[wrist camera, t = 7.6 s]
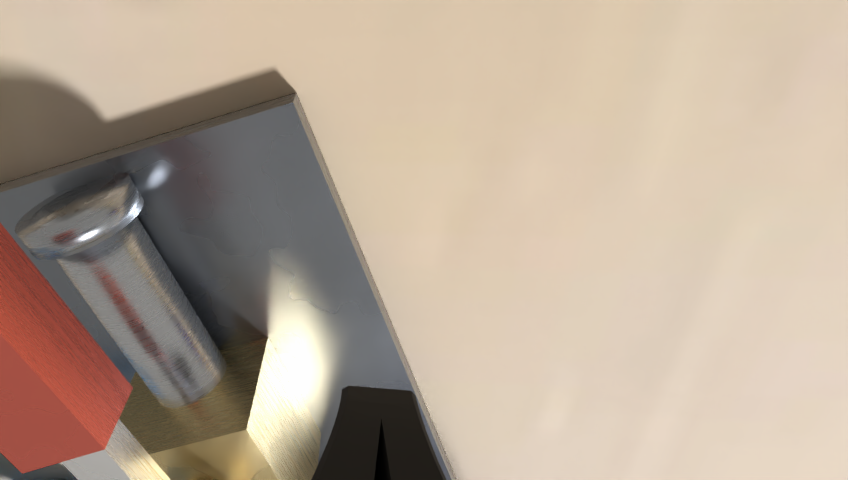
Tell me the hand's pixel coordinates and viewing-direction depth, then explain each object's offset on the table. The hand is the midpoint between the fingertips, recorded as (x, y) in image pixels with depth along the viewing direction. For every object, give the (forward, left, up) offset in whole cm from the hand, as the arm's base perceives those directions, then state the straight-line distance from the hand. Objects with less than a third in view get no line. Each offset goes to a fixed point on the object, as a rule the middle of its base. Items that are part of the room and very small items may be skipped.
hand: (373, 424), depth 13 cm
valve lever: (-1, +8, -4) cm, 9 cm away
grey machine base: (-6, +8, -9) cm, 13 cm away
